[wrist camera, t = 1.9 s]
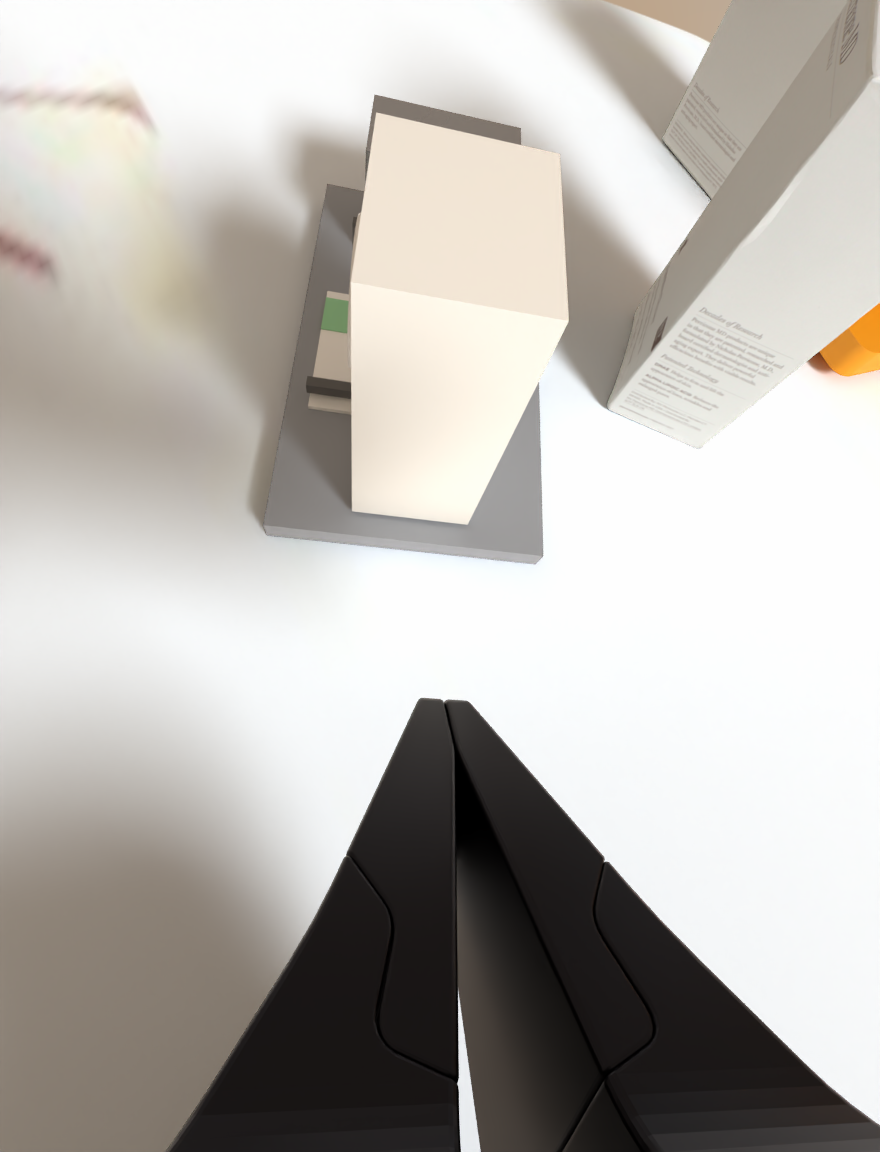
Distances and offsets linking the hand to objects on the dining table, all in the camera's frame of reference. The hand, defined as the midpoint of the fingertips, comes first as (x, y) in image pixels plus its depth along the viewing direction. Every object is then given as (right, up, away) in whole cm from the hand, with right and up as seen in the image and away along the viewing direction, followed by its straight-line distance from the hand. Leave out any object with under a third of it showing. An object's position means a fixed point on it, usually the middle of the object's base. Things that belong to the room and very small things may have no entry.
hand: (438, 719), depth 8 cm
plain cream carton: (-2, +10, +15) cm, 18 cm away
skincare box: (+13, +13, +20) cm, 27 cm away
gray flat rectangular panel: (-1, +13, +17) cm, 22 cm away
